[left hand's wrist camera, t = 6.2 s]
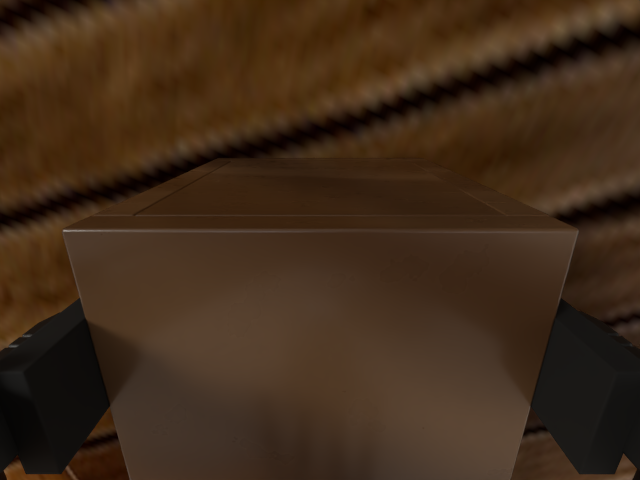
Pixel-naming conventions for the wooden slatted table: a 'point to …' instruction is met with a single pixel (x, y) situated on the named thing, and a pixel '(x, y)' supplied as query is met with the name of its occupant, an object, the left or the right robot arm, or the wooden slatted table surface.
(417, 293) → the cabinet
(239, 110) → the wooden slatted table surface
